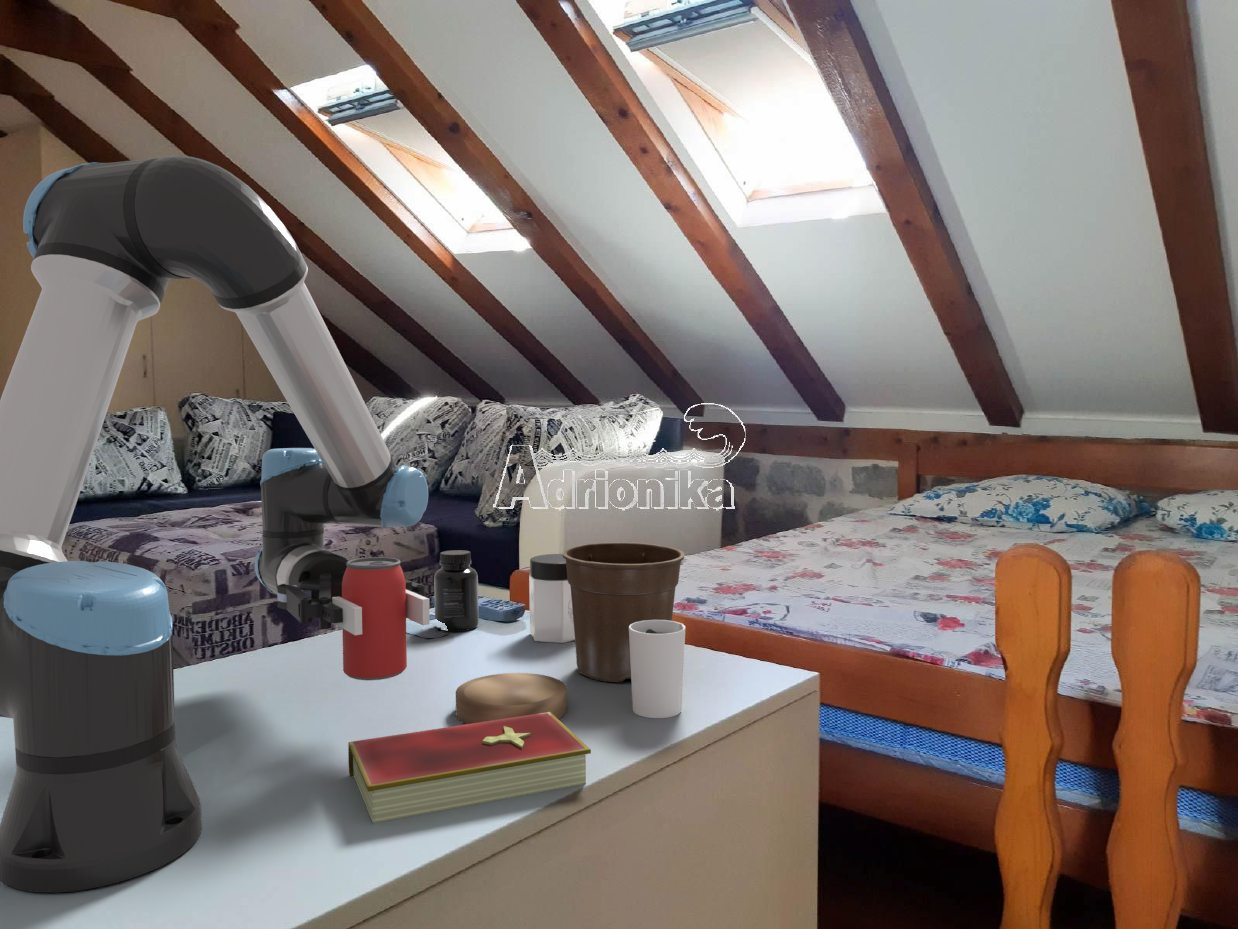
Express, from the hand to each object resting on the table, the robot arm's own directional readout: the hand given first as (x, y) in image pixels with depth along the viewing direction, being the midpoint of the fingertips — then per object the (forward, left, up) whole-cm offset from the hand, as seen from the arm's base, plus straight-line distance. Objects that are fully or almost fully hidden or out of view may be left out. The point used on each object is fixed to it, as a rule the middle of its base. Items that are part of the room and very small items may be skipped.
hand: (392, 616), depth 97 cm
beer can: (0, +5, -7) cm, 9 cm away
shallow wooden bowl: (+17, +6, -15) cm, 23 cm away
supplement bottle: (+29, +45, -15) cm, 56 cm away
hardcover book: (+4, -9, -16) cm, 18 cm away
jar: (+39, +31, -15) cm, 52 cm away
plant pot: (+37, +11, -15) cm, 41 cm away
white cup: (+31, -4, -15) cm, 35 cm away
